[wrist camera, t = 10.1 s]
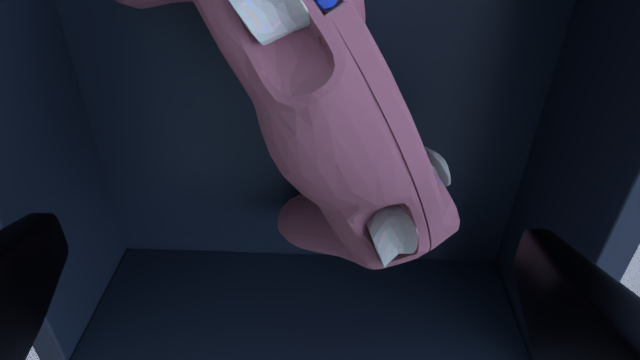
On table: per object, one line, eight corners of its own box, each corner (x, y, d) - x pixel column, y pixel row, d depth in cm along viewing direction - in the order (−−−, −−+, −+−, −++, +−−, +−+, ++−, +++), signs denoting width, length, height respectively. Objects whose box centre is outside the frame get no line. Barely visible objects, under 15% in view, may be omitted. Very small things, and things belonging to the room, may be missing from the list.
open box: (670, -233, 11) (920, -284, 6) (507, 265, 19) (559, 398, 15) (-36, -243, 11) (-307, -299, 6) (116, 251, 20) (48, 378, 15)
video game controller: (384, 161, 18) (525, 255, 12) (281, 234, 17) (373, 371, 11) (241, -126, 13) (358, -216, 7) (90, -36, 12) (72, -47, 6)
